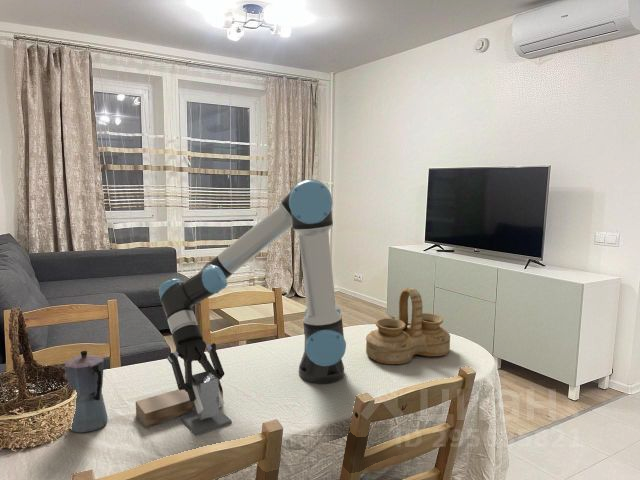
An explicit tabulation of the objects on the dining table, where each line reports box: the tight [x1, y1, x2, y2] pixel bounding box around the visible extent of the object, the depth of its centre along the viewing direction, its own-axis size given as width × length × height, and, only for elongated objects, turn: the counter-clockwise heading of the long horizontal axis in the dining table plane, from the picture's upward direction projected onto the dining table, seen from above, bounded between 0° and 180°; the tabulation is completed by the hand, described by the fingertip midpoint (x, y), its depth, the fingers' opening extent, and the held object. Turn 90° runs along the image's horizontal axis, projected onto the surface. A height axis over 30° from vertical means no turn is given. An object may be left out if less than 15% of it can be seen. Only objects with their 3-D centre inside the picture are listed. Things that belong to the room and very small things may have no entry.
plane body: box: [135, 388, 224, 429], centre depth 131 cm, size 22×8×4 cm, turn 128°
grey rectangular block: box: [192, 371, 220, 420], centre depth 124 cm, size 6×5×10 cm
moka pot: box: [64, 350, 109, 433], centre depth 121 cm, size 10×15×20 cm, turn 54°
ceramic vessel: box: [365, 287, 451, 365], centre depth 173 cm, size 34×18×25 cm, turn 117°
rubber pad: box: [180, 408, 233, 436], centre depth 125 cm, size 10×10×1 cm
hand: (211, 408), depth 122 cm, fingers closed on grey rectangular block, 5 cm apart
